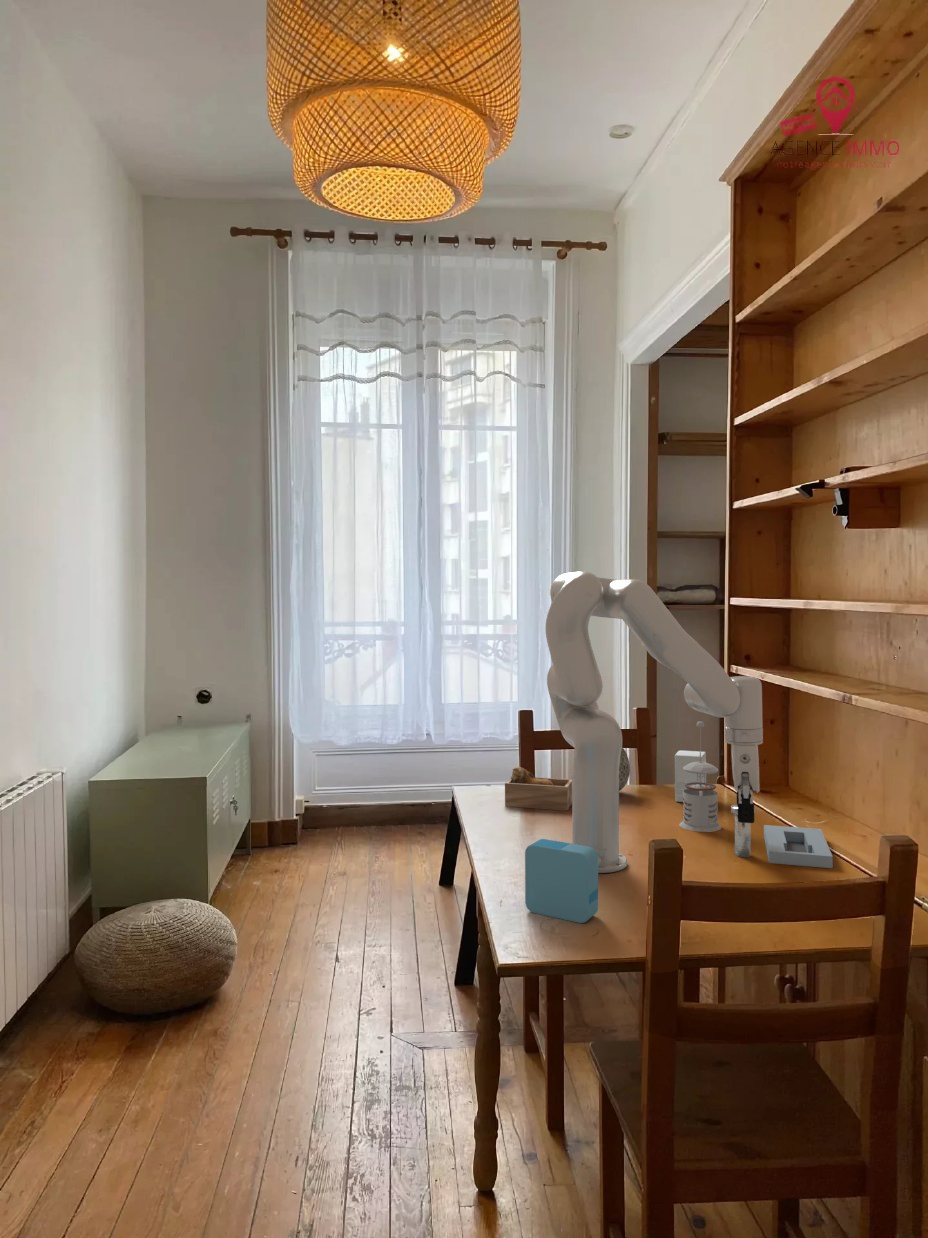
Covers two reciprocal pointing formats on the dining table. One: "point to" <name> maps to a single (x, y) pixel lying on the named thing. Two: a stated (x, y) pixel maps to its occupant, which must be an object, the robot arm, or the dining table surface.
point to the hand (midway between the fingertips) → (745, 816)
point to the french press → (700, 798)
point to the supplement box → (685, 777)
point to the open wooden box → (540, 794)
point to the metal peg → (742, 835)
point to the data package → (561, 880)
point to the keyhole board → (797, 846)
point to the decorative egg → (623, 769)
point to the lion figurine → (527, 777)
